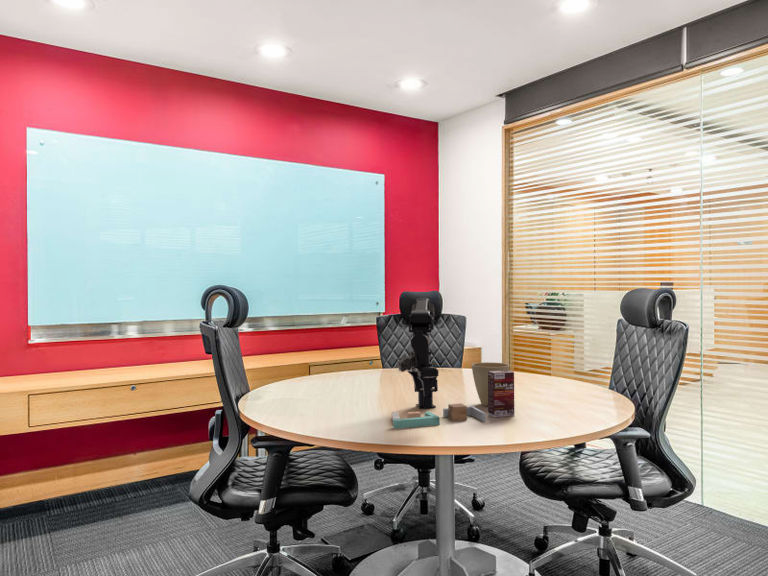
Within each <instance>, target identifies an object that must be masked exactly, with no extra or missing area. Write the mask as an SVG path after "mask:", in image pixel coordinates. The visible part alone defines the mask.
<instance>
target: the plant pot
mask: <svg viewBox="0 0 768 576" xmlns="http://www.w3.org/2000/svg"><path fill="white" fill-rule="evenodd" d="M471 370H472V376H473V381H474V382H473V383H474V385H475V389H476V393H477V396H478V399H479V401H480V402H479V403H481V405H482V406H484V407H488V372H491V371H510V364H508V363H504V362H474V363H472V364H471Z"/></svg>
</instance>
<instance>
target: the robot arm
mask: <svg viewBox="0 0 768 576" xmlns="http://www.w3.org/2000/svg"><path fill="white" fill-rule="evenodd" d="M434 306H435V305H434V304H433V303H432V302H431V301H430V299H429V298H426V297H425V298H423V297H421V298H417V299H415V302H414V303H413V304H412V306H411V307H412V308H411V313H410V315H409V316H408V333H413V334H412V338H411V340H410V346H411V348H412V350H411V351H410V354H409V356H406V357H404V358H402V359H398V360H397V361H396V366H397V368H398V371H399V372H401V373H403V372H407V373H408V374H409V375H410V376H411V377H412V381H413V383H414V384H413V388H414V393H418V395H417V397H418V398H417V399H418V403H416V404H415V406H416V407H417V408H419V409H432V408H433V409H434V408H436V407H437V406H436V405H434V395H433V393H436V392H438V391H439V390H438V387H439V386H438V379H437V378H438V377H439V369H438V368H436V367H434V366H432V363H431V361H430V360H431V359H430V357H431V356H432V351H430V333H432V331H434V319H435V307H434ZM430 355H431V356H430Z"/></svg>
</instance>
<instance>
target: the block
mask: <svg viewBox="0 0 768 576" xmlns="http://www.w3.org/2000/svg"><path fill="white" fill-rule="evenodd" d="M467 407H468V406H467V405H465V404H463V403H462V402H461V403H460V402H459V403H448V404H447V408H448V416H449V417H448V419H449V418H450V419H449V420H451V421H452V420H453V421H452V422H459V420H462V421H468V418H467V417H468V416H467Z"/></svg>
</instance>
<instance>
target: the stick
mask: <svg viewBox="0 0 768 576" xmlns="http://www.w3.org/2000/svg"><path fill="white" fill-rule="evenodd" d="M394 419H401V417H400V415H399V412H398V411H393V412H391V420H392V421H393V420H394Z"/></svg>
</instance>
